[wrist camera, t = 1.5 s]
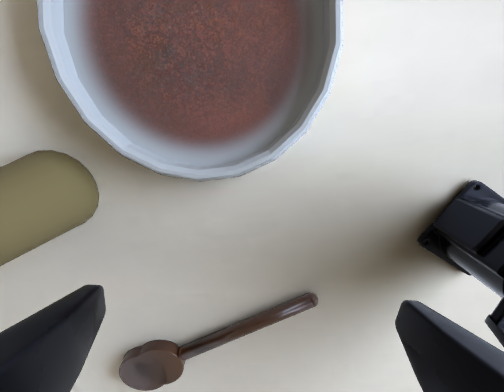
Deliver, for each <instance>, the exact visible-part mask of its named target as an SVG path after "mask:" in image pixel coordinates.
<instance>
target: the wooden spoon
mask: <svg viewBox="0 0 504 392" xmlns="http://www.w3.org/2000/svg"><path fill="white" fill-rule="evenodd" d="M317 304H318V297H317V296H316V295H315V294H314V293H308V294H305V295H303V296H301V297H298V298H296V299H294V300H291V301H289V302H286V303H284V304H282V305H279V306H277V307H275V308H272V309H270V310H267V311H265V312H263V313H260V314H258V315H256V316H253V317H251V318H248V319H246V320H244V321H241V322H239V323H236V324H234V325H232V326H229V327H227V328H225V329H222V330H220V331H217V332H215V333H213V334H210V335H208V336H206V337H203V338H201V339H198V340H196V341H194V342H191V343H189V344H187V345H184V346H182V347H181V348H180V347H179V346H178V345H176V344H175V343H173V342H170V341H166V340H154V341H150V342H148V343H146V344H144V345H143V346H140V347H136V348H134V349H132V350H130V351H129V352H128V353H127V354H126V355H125V357H124V359H123V361H122V364H121V366H120V369H119V375H120V377H121V379H122V381H123V382H124V383H125V384H127V385H128V386H130V387H132V388H134V389H138V390H145V391H146V390H154V389H157V388H159V387H161V386H163V385H164V384H169V383H172V382H174V381H176V380H177V379H178V378H179V377H180V376H181V375H182V372H183V369H184V364H185V360H187V359H189V358H192V357H194V356H197V355H199V354H201V353H204V352H206V351H209V350H211V349H214V348H216V347H218V346H221V345H223V344H226V343H228V342H230V341H233V340H235V339H238V338H240V337H243V336H245V335H247V334H250V333H252V332H255V331H257V330H260V329H262V328H264V327H267V326H269V325H272V324H274V323H277V322H279V321H281V320H284V319H286V318H289V317H291V316H293V315H296V314H298V313H301V312H303V311H306V310H308V309H310V308H313V307H315V306H316V305H317Z"/></svg>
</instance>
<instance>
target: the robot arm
mask: <svg viewBox="0 0 504 392" xmlns="http://www.w3.org/2000/svg"><path fill="white" fill-rule="evenodd" d="M475 186H476V187H475ZM474 187H475V188H474ZM425 240H426V242H424V241H425ZM418 243H419V244H420V245H421V246H422V247H423V248H425V249H427V250H428V251H430V252H432V253H433V254H435V255H436V256H438V257H440V258H441V259H443V260H445V261H446V262H448V263H449V264H451V265H453V266H454V267H456V268H458V269H459V270H461V271H463V272H464V273H466V274H467V275H473V276H474V277H475V278H477V279H478V280H479V281H481V282H482V283H483V284H485V285H486V286H487V287H489V288H490V289H491V290H492V291H494V292H495V293H496V294H498V295H499V296H500V297H502V299H501V301H500V302H499V304H498V305H497V307H496V308H495V310H494V311H493V313H492V314H491V315H488V317H487V318H486V320H485V323H486V324H487V325H488V327H489V328H490V329H491V331H492V332H493V333H494V335H495V336H496V337H497V339H498V340H499V341H500V343H501V344H502V345H503V347H504V198H502V197H501V196H500V195H498V194H497V193H495V192H494V191H493V190H491V189H490V188H489V187H487V186H486V185H485V184H483V183H482V182H479V181H476V180H473V181H471V182H469V183H468V184H467V185H466V186H465V188H464V189H463V190H462V191H461V192H460V193H459V194H458V195H457V196H456V198H455V199H454V200H453V201H452V202H451V203H450V204H449V205H448V206H447V207H446V209H445V210H444V211H443V212H442V213H441V214H440V215H439V216H438V217H437V218H436V220H435V221H434V222H433V223H432V224H431V225H430V226H429V227H428V228H427V229H426V231H425V232H424V233H423V234H422V235H421V236H420V237H419V239H418ZM105 311H106V306H105V297H104V289H103V287H102V286H101V285H85V286H83V287H81V288H79V289H78V290H76V291H74V292H72V293H71V294H69V295H67V296H65V297H63V298H62V299H60V300H58V301H56V302H54V303H53V304H51V305H49V306H47V307H45V308H44V309H42V310H40V311H38V312H37V313H35V314H33V315H31V316H29V317H28V318H26V319H24V320H22V321H20V322H19V323H17V324H15V325H13V326H11V327H10V328H8V329H6V330H4V331H3V332H1V333H0V392H70V391H71V389H72V387H73V385H74V383H75V381H76V379H77V378H78V376H79V374H80V372H81V369H82V367H83V365H84V363H85V360H86V358H87V356H88V353H89V351H90V349H91V346H92V344H93V342H94V339H95V337H96V335H97V332H98V330H99V328H100V325H101V323H102V321H103V318H104V315H105ZM395 325H396V329H397V332H398V334H399V337H400V339H401V342H402V344H403V346H404V349H405V351H406V354H407V356H408V358H409V361H410V363H411V366H412V368H413V370H414V373H415V375H416V377H417V379H418V382H419V384H420V386H421V388H422V390H423V392H504V352H503V351H501V350H499V349H498V348H496V347H494V346H493V345H491V344H489V343H488V342H486V341H484V340H483V339H481V338H479V337H478V336H476V335H474V334H473V333H471V332H469V331H468V330H466V329H464V328H463V327H461V326H459V325H458V324H456V323H454V322H452V321H451V320H449V319H447V318H446V317H444V316H442V315H441V314H439V313H437V312H436V311H434V310H432V309H431V308H429V307H427V306H426V305H424V304H422V303H421V302H419V301H412V300H405V301H403V302H402V304H401V306H400V309H399V312H398V315H397V318H396V321H395Z"/></svg>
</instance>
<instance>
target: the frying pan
mask: <svg viewBox="0 0 504 392" xmlns="http://www.w3.org/2000/svg"><path fill="white" fill-rule="evenodd" d="M37 6H38V24H39V30H40V33H41V35H42V38H43V41H44V44H45V47H46V50H47V53H48V56H49V59H50V62H51V65H52V68H53V70H54V73H55V76H56V79H57V81H58V82H59V84H60V85H61V87H62V88H63V90H64V91H65V93H66V94H67V96H68V97H69V99H70V100H71V102H72V103H73V105H74V106H75V108H76V109H77V111H78V112H79V114H80V115H81V117H82V118H83V120H84V121H85V123H86V124H87V125H88V126H89V127H90V128H91V129H92V130H94V131H95V132H96V133H97V134H98V135H99V136H100V137H101V138H103V139H104V140H105V141H106V142H107V143H108V144H109V145H111V146H112V147H113V148H114V149H115V150H116V151H117V152H118V153H120V154H121V155H122V156H124V157H126V158H128V159H130V160H132V161H134V162H136V163H138V164H140V165H142V166H144V167H146V168H148V169H150V170H152V171H154V172H156V173H158V174H160V175H166V176H171V177H177V178H183V179H189V180H194V181H200V182H201V181H209V180H216V179H224V178H232V177H239V176H242V175H244V174H246V173H248V172H250V171H253V170H255V169H257V168H259V167H261V166H263V165H266V164H268V163H270V162H272V161H274V160H276V159H277V158H278V157H279V156H280V155H281V154H282V153H284V152H285V151H286V150H287V149H288V148H289V147H290V146H291V145H292V144H294V143H295V142H296V141H297V140H298V139H299V138H300V137H301V136H302V135H304V134H305V133H306V132H307V130H308V128H309V127H310V125H311V123H312V122H313V120H314V118H315V117H316V115H317V113H318V112H319V110H320V108H321V107H322V105H323V104H324V102H325V100H326V99H327V97H328V95H329V94H330V90H331V86H332V83H333V79H334V75H335V72H336V68H337V64H338V61H339V57H340V54H341V50H342V46H343V0H37Z"/></svg>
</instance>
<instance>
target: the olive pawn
mask: <svg viewBox="0 0 504 392" xmlns="http://www.w3.org/2000/svg"><path fill="white" fill-rule="evenodd" d="M98 199H99V193H98V189H97V185H96V182H95V180H94V179H93V177H92V175H91V174H90V172H89V171H88V170H87V169H86V168H85V167H84V166H83V165H82V164H81V163H80V162H79V161H77V160H75V159H74V158H72V157H70V156H68V155H67V154H64V153H60V152H56V151H52V150H49V151H37V152H34V153H31V154H29V155H26V156H24V157H22V158H20V159H18V160H15V161H13V162H11V163H9V164H7V165H5V166H3V167H0V266H1V265H3V264H5V263H7V262H9V261H11V260H13V259H15V258H17V257H19V256H21V255H23V254H25V253H27V252H28V251H30V250H32V249H34V248H36V247H38V246H40V245H42V244H44V243H46V242H48V241H50V240H52V239H54V238H55V237H57V236H59V235H61V234H63V233H65V232H67V231H69V230H71V229H73V228H75V227H77V226H79V225H81V224H82V223H84V222H86V221H87V220H88V219H89V218H90V217H92V216H93V214H94V212H95V210H96V208H97V207H98Z"/></svg>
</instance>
